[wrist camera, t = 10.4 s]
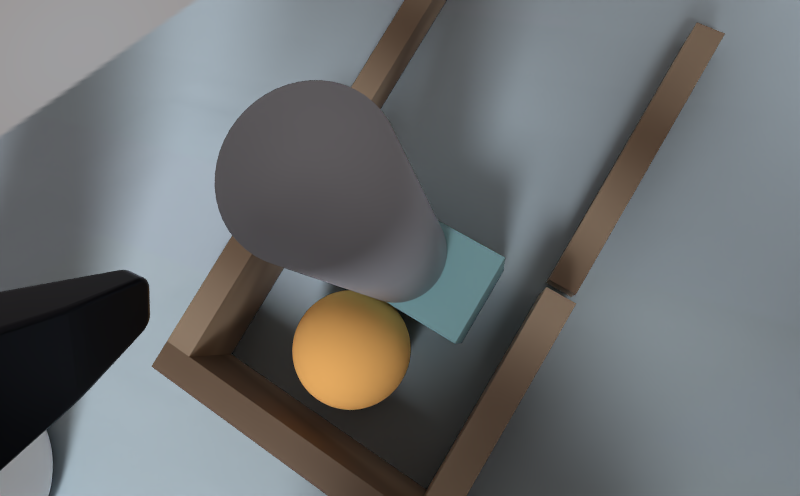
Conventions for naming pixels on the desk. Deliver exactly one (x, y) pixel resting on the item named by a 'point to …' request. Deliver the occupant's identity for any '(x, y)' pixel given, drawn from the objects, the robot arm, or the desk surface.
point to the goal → (394, 491)
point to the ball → (351, 350)
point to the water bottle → (29, 470)
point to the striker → (347, 206)
